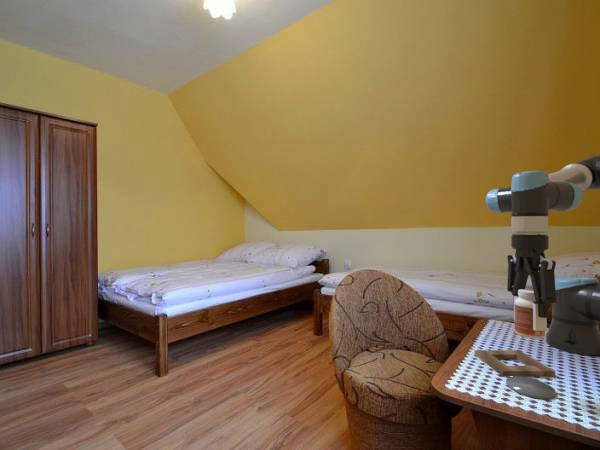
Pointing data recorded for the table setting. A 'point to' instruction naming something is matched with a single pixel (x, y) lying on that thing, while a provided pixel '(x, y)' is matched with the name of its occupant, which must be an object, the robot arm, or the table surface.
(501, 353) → the wooden square frame
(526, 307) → the pill bottle
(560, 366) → the table surface
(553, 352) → the table surface
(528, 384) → the slate coaster
